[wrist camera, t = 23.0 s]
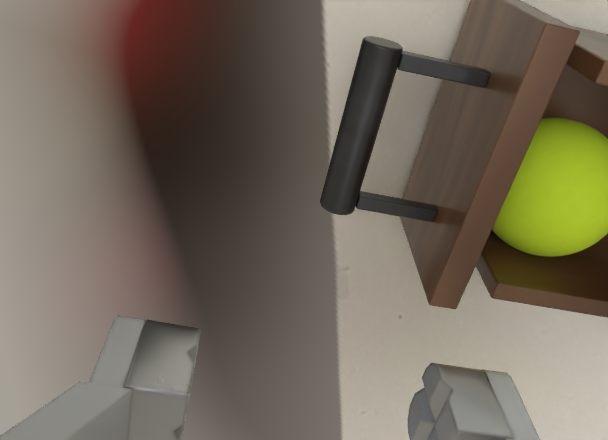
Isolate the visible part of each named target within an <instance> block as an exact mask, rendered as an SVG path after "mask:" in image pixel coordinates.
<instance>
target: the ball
mask: <svg viewBox="0 0 608 440" xmlns="http://www.w3.org/2000/svg"><path fill="white" fill-rule="evenodd" d="M492 230H493V232H494V233H495V234H496V235H497V236H498V237H499V238H500V239H501V240H503V241H504V242H505V243H507V244H508V245H510V246H512V247H514V248H516V249H518V250H520V251H522V252H525V253H529V254H532V255H537V256H549V257H553V256H564V255H569V254H573V253H576V252H579V251H582V250H584V249H586V248H588V247H590V246H592V245H593V244H595V243H597V242H598V241H599V240H601V239H602V238H603V237H604V236H605V235H606V234H608V139H607V138H606V137H605V136H604V135H603V134H602V133H600V132H599V131H597V130H596V129H594V128H592V127H590V126H588V125H586V124H584V123H581V122H578V121H575V120H570V119H565V118H543V119H541V121H540V123H539V125H538V128H537V130H536V132H535V134H534V137H533V139H532V141H531V143H530V146H529V148H528V150H527V152H526V154H525V157H524V159H523V161H522V163H521V166H520V168H519V170H518V172H517V175H516V177H515V179H514V181H513V183H512V186H511V188H510V190H509V192H508V195H507V197H506V199H505V201H504V204H503V206H502V208H501V210H500V212H499V215H498V217H497V219H496V221H495V224H494V226H493V228H492Z"/></svg>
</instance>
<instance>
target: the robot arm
mask: <svg viewBox="0 0 608 440" xmlns="http://www.w3.org/2000/svg"><path fill="white" fill-rule="evenodd" d="M200 333H201V329H198V328H193V327H187V326H181V325H175V324H169V323H163V322H157V321H152V320H142V319H137V318H130V317H125V316H119V315H118V316H117V317H116V319H115V320H114V321H113V323H112V326H111V328H110V331H109V334H108V336H107V338H106V341H105V343H104V346H103V348H102V351H101V353H100V356H99V358H98V361H97V363H96V366H95V368H94V371H93V373H92V376H91V378H90V381H89V383H84V382H79V383H77V384H76V385H74V386H73V387H72V388H70V389H69V390H67V391H66V392H64V393H63V394H61V395H60V396H58V397H57V398H55V399H54V400H52V401H51V402H49V403H48V404H46V405H45V406H43V407H42V408H41V409H39V410H37V411H36V412H34V413H33V414H32V415H30V416H29V417H27V418H26V419H24V420H23V421H21V422H20V423H18V424H17V425H15V426H14V427H12V428H11V429H9V430H8V431H6V432H5V433H3V434H2V435H0V440H182V435H183V430H184V423H185V418H186V414H187V409H188V404H189V398H190V393H191V387H192V382H193V376H194V370H195V365H196V357H197V352H198V346H199V340H200ZM422 379H423V383H424V387H425V388H423V389H422V390H420V391H418V392H417V393H415V394H414V397H413V399H412V402H411V405H410V408H409V415H408V433H409V438H410V440H540V439H539V436H538V434H537V432H536V430H535V428H534V425H533V423H532V421H531V419H530V417H529V415H528V412H527V410H526V408H525V406H524V404H523V401H522V399H521V397H520V395H519V393H518V391H517V388H516V386H515V384H514V382H513V380H512V378H511V377H510V376H509V375H508V374H507V373H504V372H496V371H489V370H478V369H471V368H464V367H457V366H450V365H443V364H435V363H431V364H430V365H429V366H428V367H427V368H426V370H425V372H424V374H423V376H422Z"/></svg>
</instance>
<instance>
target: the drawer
mask: <svg viewBox="0 0 608 440" xmlns="http://www.w3.org/2000/svg"><path fill="white" fill-rule="evenodd" d="M402 50H403V49H402V46H400V45H399V44H397V43H395V42H393V41H390V40H387V39H383V38H379V37H372V36H369V37H364V38H363V40H362V44H361V48H360V52H359V56H358V59H357V63H356V67H355V71H354V74H353V78H352V82H351V86H350V90H349V93H348V97H347V101H346V105H345V109H344V112H343V116H342V120H341V124H340V128H339V131H338V135H337V139H336V143H335V147H334V150H333V154H332V158H331V162H330V165H329V169H328V173H327V177H326V181H325V185H324V188H323V192H322V196H321V200H320V203H321V206H322V207H323V208H324V209H326V210H327V211H329V212H331V213H334V214H338V215H349V214H351V213H352V212H353V211H354V210H355V206H356V208H357V209H362V210H368V211H373V212H379V213H384V214H390V215H395V216H400V218H401V221H402V224H403V227H404V230H405V233H406V236H407V239H408V242H409V245H410V248H411V251H412V254H413V257H414V260H415V263H416V266H417V269H418V272H419V275H420V278H421V281H422V284H423V287H424V290H425V293H426V296H427V299H428V302H429V305H432V306H438V307H444V308H451V309H456V308H457V306H458V304H459V302H460V299H461V297H462V295H463V293H464V290H465V288H466V286H467V284H468V282H469V279H470V277H471V275H472V273H473V270H474V268H475V266H476V267H477V269H478V271H479V273H480V275H481V277H482V280H483V282H484V284H485V286H486V288H487V290H488V292H489V294H490V296H491V298H494V299H500V300H506V301H512V302H518V303H524V304H530V305H536V306H542V307H548V308H554V309H560V310H566V311H572V312H578V313H584V314H590V315H596V316H602V317H608V234H606V235H605V236H604V237H603V238H602V239H601V240H599V241H598V242H597V243H595V244H593V245H592V246H590V247H588V248H586V249H584V250H582V251H579V252H576V253H573V254H569V255H564V256H553V257H549V256H537V255H532V254H529V253H525V252H522V251H520V250H518V249H516V248H514V247H512V246H510V245H508V244H507V243H505V242H504V241H503V240H501V239H500V238H499V237H498V236H497V235H496V234H495V233H494V232H493V230H492V228H493V226H494V224H495V221H496V219H497V217H498V215H499V212H500V210H501V208H502V206H503V204H504V201H505V199H506V197H507V195H508V192H509V190H510V188H511V186H512V183H513V181H514V179H515V177H516V175H517V172H518V170H519V168H520V166H521V163H522V161H523V159H524V157H525V154H526V152H527V150H528V148H529V146H530V143H531V141H532V139H533V137H534V134H535V132H536V130H537V128H538V125H539V123H540V121H541V119H543V118H565V119H570V120H575V121H578V122H581V123H584V124H586V125H588V126H590V127H592V128H594V129H596V130H597V131H599V132H600V133H602V134H603V135H604V136H605V137H606V138H607V139H608V35H607V34H603V33H599V32H595V31H590V30H586V29H582V28H577V27H573V26H569V25H567V24H566V23H564V22H562V21H560V20H558V19H556V18H554V17H552V16H550V15H548V14H546V13H544V12H542V11H540V10H538V9H536V8H534V7H532V6H530V5H528V4H526V3H524V2H522V1H520V0H471V2H470V4H469V7H468V10H467V13H466V16H465V19H464V22H463V25H462V28H461V31H460V33H459V36H458V39H457V42H456V45H455V48H454V51H453V54H452V57H451V59H450V61H447V60H442V59H438V58H433V57H429V56H424V55H419V54H415V53H410V52H406V51H402ZM397 68H398V69H399V70H402V71H407V72H411V73H416V74H421V75H425V76H430V77H435V78H439V79H444V80H443V83H442V86H441V88H440V91H439V94H438V97H437V100H436V103H435V106H434V109H433V112H432V114H431V117H430V120H429V123H428V126H427V129H426V132H425V135H424V138H423V141H422V143H421V146H420V149H419V152H418V155H417V158H416V161H415V164H414V167H413V170H412V172H411V175H410V178H409V181H408V184H407V187H406V190H405V193H404V196H403V198H402V199H400V198H394V197H389V196H384V195H378V194H373V193H368V192H362V191H360V190H361V186H362V183H363V180H364V176H365V173H366V170H367V166H368V163H369V160H370V156H371V153H372V150H373V146H374V143H375V140H376V137H377V133H378V130H379V127H380V123H381V120H382V117H383V113H384V110H385V107H386V103H387V100H388V97H389V93H390V90H391V87H392V83H393V80H394V77H395V73H396V70H397Z"/></svg>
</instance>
